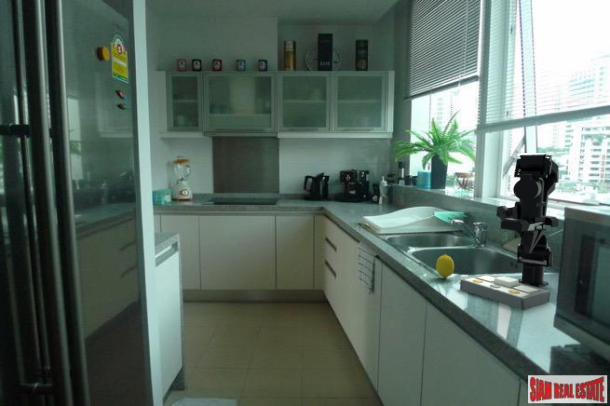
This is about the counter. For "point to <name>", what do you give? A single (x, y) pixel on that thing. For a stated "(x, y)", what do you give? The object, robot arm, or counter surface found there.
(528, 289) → the button
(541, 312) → the counter surface
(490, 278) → the button
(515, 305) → the board
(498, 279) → the button
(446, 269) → the lemon
